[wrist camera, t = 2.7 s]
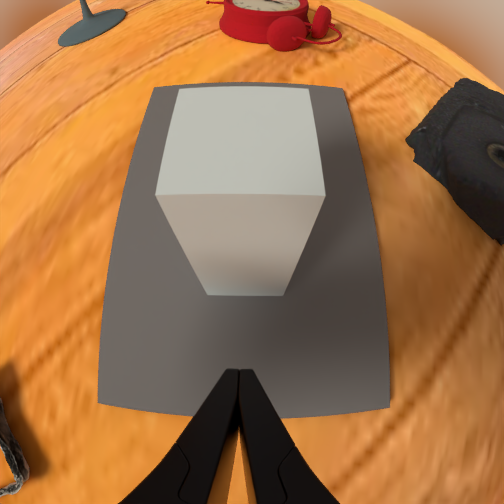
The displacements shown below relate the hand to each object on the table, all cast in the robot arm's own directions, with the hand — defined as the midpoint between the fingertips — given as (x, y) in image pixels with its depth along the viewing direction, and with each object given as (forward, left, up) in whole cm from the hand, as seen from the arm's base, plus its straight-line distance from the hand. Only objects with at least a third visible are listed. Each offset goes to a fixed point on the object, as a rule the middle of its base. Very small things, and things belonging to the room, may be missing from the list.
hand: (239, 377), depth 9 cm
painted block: (+4, -5, -6) cm, 9 cm away
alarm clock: (+19, -28, -7) cm, 35 cm away
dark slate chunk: (-7, -29, -7) cm, 31 cm away
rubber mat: (+6, -7, -7) cm, 12 cm away
